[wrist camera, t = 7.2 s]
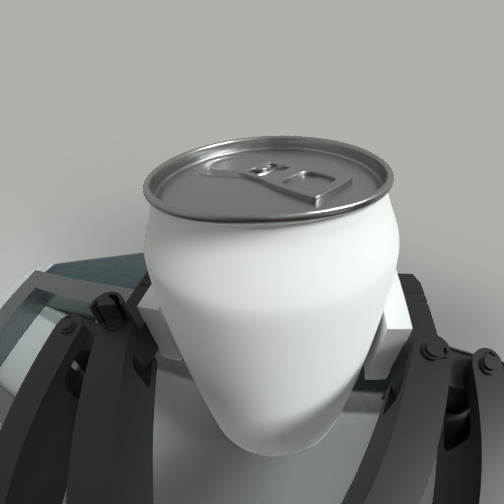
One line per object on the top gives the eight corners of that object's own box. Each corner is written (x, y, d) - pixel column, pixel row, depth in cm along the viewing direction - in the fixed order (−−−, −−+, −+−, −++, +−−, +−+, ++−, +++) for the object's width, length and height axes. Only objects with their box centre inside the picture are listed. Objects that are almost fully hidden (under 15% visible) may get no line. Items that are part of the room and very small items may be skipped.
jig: (157, 312, 23) (148, 291, 21) (73, 476, 10) (50, 466, 9) (44, 286, 26) (35, 270, 25) (-28, 384, 13) (-43, 368, 12)
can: (274, 336, 17) (263, 127, 10) (362, 392, 13) (439, 162, 6) (191, 401, 13) (92, 182, 6) (279, 483, 9) (285, 315, 2)
